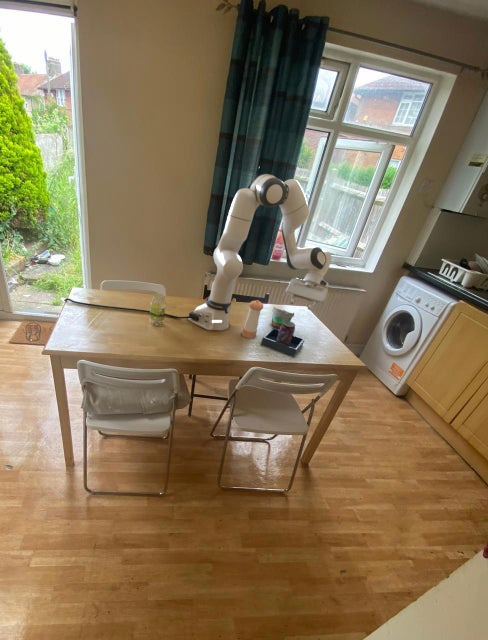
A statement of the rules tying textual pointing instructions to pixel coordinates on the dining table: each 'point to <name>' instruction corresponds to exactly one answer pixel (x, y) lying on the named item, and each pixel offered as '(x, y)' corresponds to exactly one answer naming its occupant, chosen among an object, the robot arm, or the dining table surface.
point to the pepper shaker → (252, 319)
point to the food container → (280, 317)
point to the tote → (270, 342)
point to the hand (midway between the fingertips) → (300, 306)
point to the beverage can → (286, 333)
